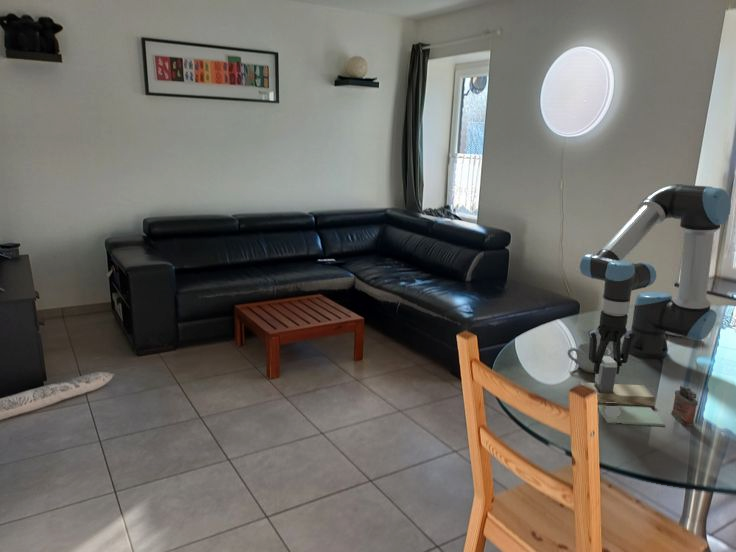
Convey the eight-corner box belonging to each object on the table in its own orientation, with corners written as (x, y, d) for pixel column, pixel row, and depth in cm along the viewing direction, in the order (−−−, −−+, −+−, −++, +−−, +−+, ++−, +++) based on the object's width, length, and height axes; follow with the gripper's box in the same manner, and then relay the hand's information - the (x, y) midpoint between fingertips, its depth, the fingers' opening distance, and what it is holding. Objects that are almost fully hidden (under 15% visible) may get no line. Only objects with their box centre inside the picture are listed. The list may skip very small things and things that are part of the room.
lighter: (668, 413, 164) (673, 382, 162) (678, 412, 165) (684, 382, 162) (685, 427, 157) (691, 395, 154) (696, 426, 157) (702, 394, 154)
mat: (649, 408, 167) (649, 406, 167) (664, 425, 157) (664, 423, 157) (595, 406, 168) (596, 404, 168) (607, 423, 158) (607, 421, 158)
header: (642, 393, 176) (643, 385, 176) (653, 405, 169) (654, 397, 168) (579, 390, 177) (580, 382, 177) (587, 402, 170) (588, 393, 169)
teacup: (606, 365, 197) (609, 345, 195) (608, 378, 187) (611, 356, 185) (565, 360, 202) (568, 339, 199) (565, 371, 192) (568, 350, 190)
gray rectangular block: (605, 391, 175) (610, 356, 172) (612, 398, 171) (617, 362, 168) (594, 390, 175) (598, 356, 172) (600, 398, 171) (605, 362, 167)
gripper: (636, 308, 170) (625, 377, 176) (582, 307, 169) (573, 377, 176) (648, 316, 162) (636, 388, 168) (591, 315, 162) (582, 388, 168)
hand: (604, 382), depth 172 cm, fingers closed on gray rectangular block, 4 cm apart
